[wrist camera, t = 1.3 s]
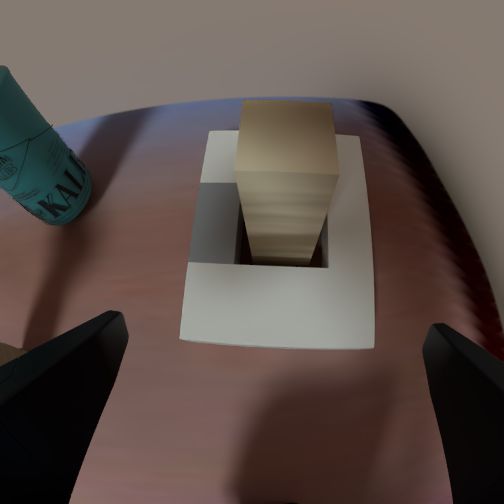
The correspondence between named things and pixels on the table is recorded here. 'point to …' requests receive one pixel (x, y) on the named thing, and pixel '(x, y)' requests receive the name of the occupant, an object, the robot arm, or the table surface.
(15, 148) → the beverage bottle
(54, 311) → the table surface
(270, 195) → the plug
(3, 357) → the handle
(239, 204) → the block
